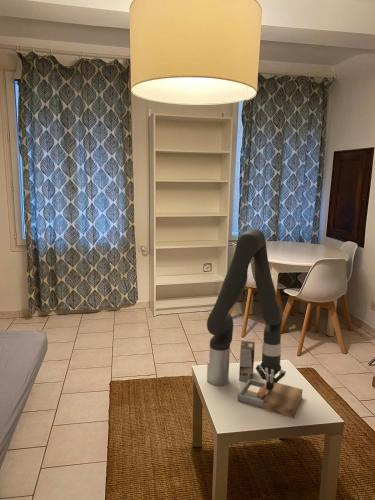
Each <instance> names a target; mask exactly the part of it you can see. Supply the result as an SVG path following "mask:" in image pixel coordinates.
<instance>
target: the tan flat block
mask: <svg viewBox="0 0 375 500" xmlns="http://www.w3.org/2000/svg"><path fill="white" fill-rule="evenodd" d="M302 398H303V389H302V388H298V387H294V386H291V385H287V384H283V383H280V382H277V383H275V382H274V387H273V389H272V390H271V391H270V390H269V391H268V393H267V395H266V397H265V398H264V400H263V409H262V410H265V411H268V412H271V413H275V414H278V415H282V416H284V417H289V418H292V419H294V417H295V416H296V413H297V411H298V409H299V406H300V404H301V401H302Z"/></svg>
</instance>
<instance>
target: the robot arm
mask: <svg viewBox="0 0 375 500" xmlns="http://www.w3.org/2000/svg"><path fill="white" fill-rule="evenodd" d="M267 250H268V248H267V242H266V235H265V234H264V232H263V231H262V230H261V229H259V228H250V229H248V230H246V231H244V232H242V233H240V235H239V237H238V238H237V241H236V244H235V249H234V253H233V258H232V259H231V262H230V265H229V268H228V269H227V272H226V275H225V277H224V279H223V281H222V285H221V288H220V291H219V294H218V296H217V299H216V301H215V303H214V306H213V307H212V310H211V311H210V313H209V316H208V318H207V321H206V328H207V331H208V332H209V333H210V335H212V337H211V339H210V341H209V353H208V354H209V357H208V358H209V359H208V361H207V362H206V363H207V365H206V366H207V370H206V372H207V373H206V374H207V375H206V381H207V382H209V383H210V384H211V385H213V386H219V387H222V386H225V385H227V384H229V379H230V377H229V373H230V353H231V343H232V342H233V341H232V340H233V334H234V319H233V317H232V314H231V313H229V312H230V311H231V310H232V308H233V307H234V306H235V305H236V304H237V302H238V301H239V300H240V298H241V297H242V295H243V293H244V291H245V288H246V286H247V282H248V269H249V266H250V264H251V261H252V260H253V265H254V283H255V287H256V291H257V294H258V297H259V301H260V308H261V309H260V310H261V313H262V318H263V320H264V323H265V324H264V325H265V326H264V330H263V342H262V348H261V349H262V352H261V363H260V364H257V366H256V367H255V370H256V372H257V374H259V377H260V378H261V379H262V380H263V381H265V383H266V388H268V389H267V390H270V391H271V390H272V389H273V387H274V382H275V383H279V382H280V380H281V379H283V378H284V377H285V376H286V374H287V372H286V370H283V369H282V366H281V354H282V345H281V343H282V341H281V340H282V331H281V330H282V322H283V316H284V314H283V309H282V307H281V305H279V304H278V302H277V292H276V291H277V290H276V287H275V284H274V281H273V277H272V274H271V269H270V263H269V256H268V251H267ZM277 374H279V375H277ZM276 375H277V376H276Z"/></svg>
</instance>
